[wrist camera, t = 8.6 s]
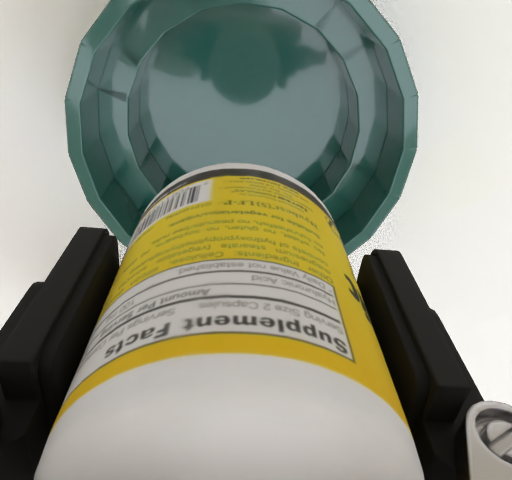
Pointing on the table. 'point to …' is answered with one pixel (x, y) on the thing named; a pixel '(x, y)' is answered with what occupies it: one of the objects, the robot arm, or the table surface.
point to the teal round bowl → (243, 103)
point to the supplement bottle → (232, 348)
